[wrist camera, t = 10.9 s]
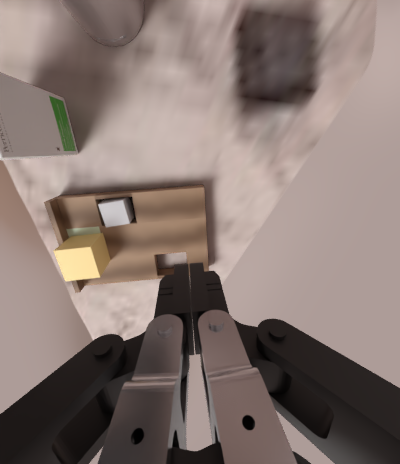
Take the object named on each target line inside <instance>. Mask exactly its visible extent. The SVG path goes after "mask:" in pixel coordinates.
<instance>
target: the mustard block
mask: <svg viewBox="0 0 400 464" xmlns="http://www.w3.org/2000/svg"><path fill="white" fill-rule="evenodd" d="M54 253H55V256H56V259H57V261H58V264H59V266H60V269H61V271H62V274H63V276H64V279H65V281H73V280H82V279H91V278H99V277H101V275H102V274H103V272H104V270H105V269H106V267H107V265H108V264H109V262H110V261H111V260H110V256H109V253H108V249H107V245H106V242H105V238H104V235H103V233H97V234H88V235H78V236H71V237H70V238H68V239H67V240H66V241H65V242H64V243H62V244H61V245H60V246H59V247H58V248H56V249H55V250H54Z"/></svg>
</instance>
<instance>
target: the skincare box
mask: <svg viewBox="0 0 400 464" xmlns="http://www.w3.org/2000/svg"><path fill="white" fill-rule="evenodd" d="M77 154H78V150H77V147H76V143H75V138H74V134H73V130H72V127H71V123H70V119H69V115H68V111H67V107H66V103H65V100H64V98H63V97H61V96H58V95H55V94H53V93H50V92H48V91H46V90H43V89H41V88H38V87H36V86H33V85H31V84H28V83H26V82H23V81H21V80H18V79H16V78H13V77H11V76H8V75H6V74H3V73H1V72H0V160H14V159H32V158H46V157H58V156H68V155H77Z"/></svg>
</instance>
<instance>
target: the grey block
mask: <svg viewBox="0 0 400 464" xmlns="http://www.w3.org/2000/svg"><path fill="white" fill-rule="evenodd" d="M98 206H99V209H100V212H101V214H102V217H103V220H104V223H105V226H106V227H112V226H118V225H124V224H130V223H131V221H132V219H133V218H134V212H133V209H132V205H131V202H130V198H129V197H121V198H108V199H105V200H104V201H102V202H101V203H99V204H98Z"/></svg>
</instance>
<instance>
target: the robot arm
mask: <svg viewBox="0 0 400 464" xmlns="http://www.w3.org/2000/svg"><path fill="white" fill-rule="evenodd" d="M59 1H60V2H61V4H62V5H63V6H64V7H65V8H66V9H67V10H68V12H69V13H70V14H71V15H72V16H73V17H74V19H75V20H76V21H77V22H78V23H79V24H80V25H81V27H82V28H83V29H84V30H85V31H86V32H87V33H88V34H89V35H90V36H91V37H92V38H93V39H94V40H96V41H98V42H99V43H101V44H104V45H107V46H114V47H117V46H122V45H125V44H127V43H129V42H130V41H131V40H132V39H133V38H135V36H136V35H137V33H138V32H139V30H140V28H141V25H142V22H143V17H144V0H59ZM189 266H190V277H189ZM189 266H188V264H177V265H174V274H171V275H165V276H164V277H163V278H162V280H161V281H160V285H159V291H158V297H157V303H156V309H155V316H154V319H153V320H152V321H151V322H150V323H149V325H148V326H147V329H146V331H145V332H144V333H142V334H141V335H139V336H137V337H134V338H131V339H129V340H126V341H123V339H122V338H121V337H120V336H119V335H116V334H108V335H104V336H101V337H99V338H97V339H95V340H94V341H92V342H91V343H90V344H89V345H87V346H86V347H85V348H83V349H82V350H81V351H80V352H78V353H77V354H76V355H75V356H73V357H72V358H71V359H70V360H68V361H67V362H66V363H64V364H63V365H62V366H61V367H60V368H58V369H57V370H56V371H54V373H52V374H51V375H49V376H48V377H47V378H46V379H44V380H43V381H42V382H40V383H39V384H38V385H37V386H36V387H34V388H33V389H32V390H30V391H29V392H28V393H27V394H26V395H24V396H23V397H22V398H20V399H19V400H18V401H16V402H15V403H14V404H13V405H11V406H10V407H9V408H8V409H6V410H5V411H4V412H3V413H1V414H0V464H89V463H90V461H91V460H92V459H93V458H94V456H95V455H96V454H97V453H98V452H99V450H100V449H101V448H102V447H103V449H102V452H101V455H100V458H99V461H98V464H311V463H310V462H308V461H307V460H306V459H304V458H303V457H302V456H300V455H299V454H297V453H295V452H293V451H292V449H291V447H290V445H289V442H288V440H287V437H286V435H285V432H284V430H283V427H282V425H281V423H280V420H279V418H278V415H277V413H276V411H277V412H279V413H280V414H281V415H282V416H283V417H284V418H285V419H286V420H287V421H289V422H290V423H291V424H292V425H293V426H294V427H295V428H296V429H297V430H298V431H300V432H301V433H302V434H303V435H304V436H305V437H306V438H307V439H308V440H310V441H311V442H312V443H313V444H314V445H315V446H316V447H317V448H318V449H319V450H321V451H322V452H323V453H324V454H325V455H326V456H327V457H328V458H329V459H330V460H332V461H333V462H334V463H335V464H400V388H398V387H397V386H395V385H393V384H392V383H390V382H388V381H386V380H385V379H383V378H381V377H379V376H378V375H376V374H374V373H372V372H371V371H369V370H367V369H366V368H364V367H362V366H360V365H359V364H357V363H355V362H354V361H352V360H350V359H348V358H347V357H345V356H343V355H341V354H340V353H338V352H336V351H335V350H333V349H331V348H330V347H328V346H326V345H324V344H322V343H321V342H319V341H317V340H316V339H314V338H312V337H311V336H309V335H307V334H305V333H304V332H302V331H300V330H298V329H297V328H295V327H293V326H292V325H290V324H288V323H286V322H284V321H282V320H278V319H267V320H264V321H262V322H261V323H260V324H259V325H258V327H254V326H248V325H243V324H241V323H239V322H237V321H235V320H234V319H233V318H232V316H231V315H230V314H229V312H228V308H227V304H226V301H225V297H224V293H223V290H222V285H221V281H220V278H219V276H218V275H217V274H216V273H215V272H214V271H205V272H204V266H203V262H199V263H189ZM190 286H191V288H190ZM192 319H193V322H192ZM193 330H194V341H195V351H196V354H200V357H201V368H202V377H203V384H204V390H205V397H206V403H207V409H208V416H209V422H210V429H211V437H212V445H210V446H208V447H206V448H204V449H202V450H199V451H189V450H187V447H186V422H187V421H186V420H187V402H188V382H189V355H194V341H193Z"/></svg>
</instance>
